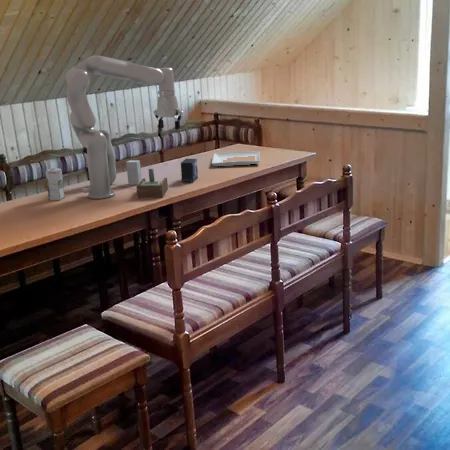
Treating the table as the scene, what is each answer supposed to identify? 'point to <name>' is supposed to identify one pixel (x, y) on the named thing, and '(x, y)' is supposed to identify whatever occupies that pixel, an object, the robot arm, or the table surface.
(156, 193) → the bay
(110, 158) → the glass bottle
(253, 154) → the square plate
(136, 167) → the skincare box
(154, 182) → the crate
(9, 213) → the table surface
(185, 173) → the small box
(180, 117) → the robot arm
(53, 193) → the syrup box
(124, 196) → the table surface
